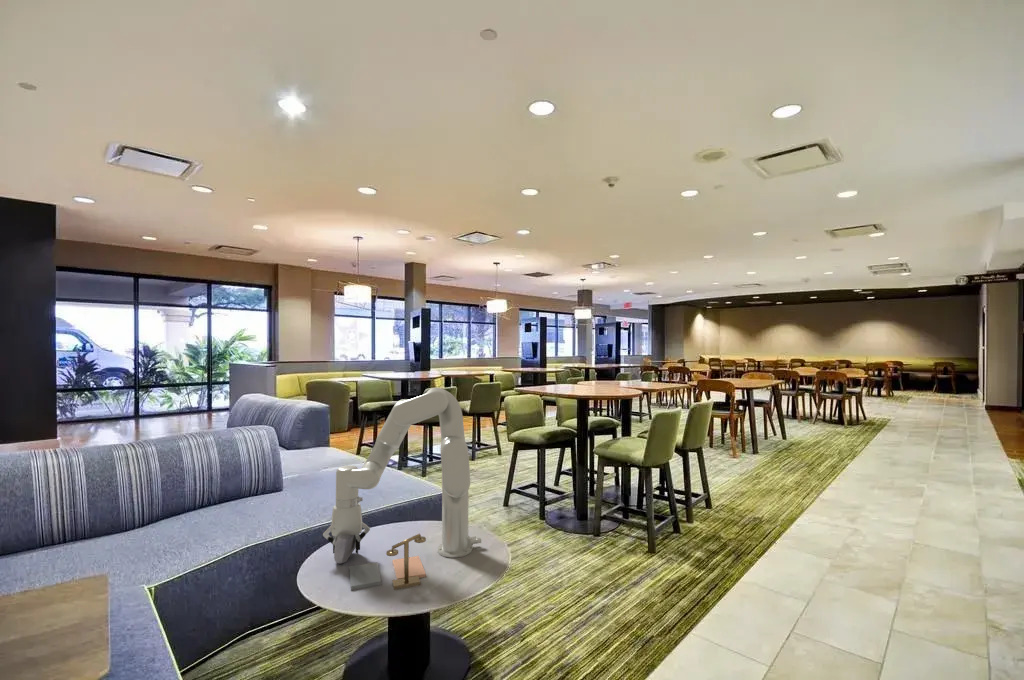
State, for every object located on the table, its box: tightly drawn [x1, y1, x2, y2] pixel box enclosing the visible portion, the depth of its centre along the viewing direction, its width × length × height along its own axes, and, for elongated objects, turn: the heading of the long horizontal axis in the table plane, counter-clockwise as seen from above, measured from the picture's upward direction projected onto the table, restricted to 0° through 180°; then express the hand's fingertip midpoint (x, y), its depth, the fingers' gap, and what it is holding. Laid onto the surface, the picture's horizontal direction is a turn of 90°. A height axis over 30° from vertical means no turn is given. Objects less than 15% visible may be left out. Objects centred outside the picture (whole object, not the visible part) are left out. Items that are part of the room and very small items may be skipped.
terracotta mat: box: [392, 555, 427, 580], centre depth 160 cm, size 9×14×1 cm, turn 20°
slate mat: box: [349, 561, 382, 591], centre depth 155 cm, size 9×14×1 cm, turn 20°
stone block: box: [333, 534, 356, 564], centre depth 168 cm, size 12×5×10 cm, turn 171°
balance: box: [385, 533, 427, 591], centre depth 150 cm, size 12×4×16 cm, turn 110°
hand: (346, 553), depth 168 cm, fingers closed on stone block, 6 cm apart
